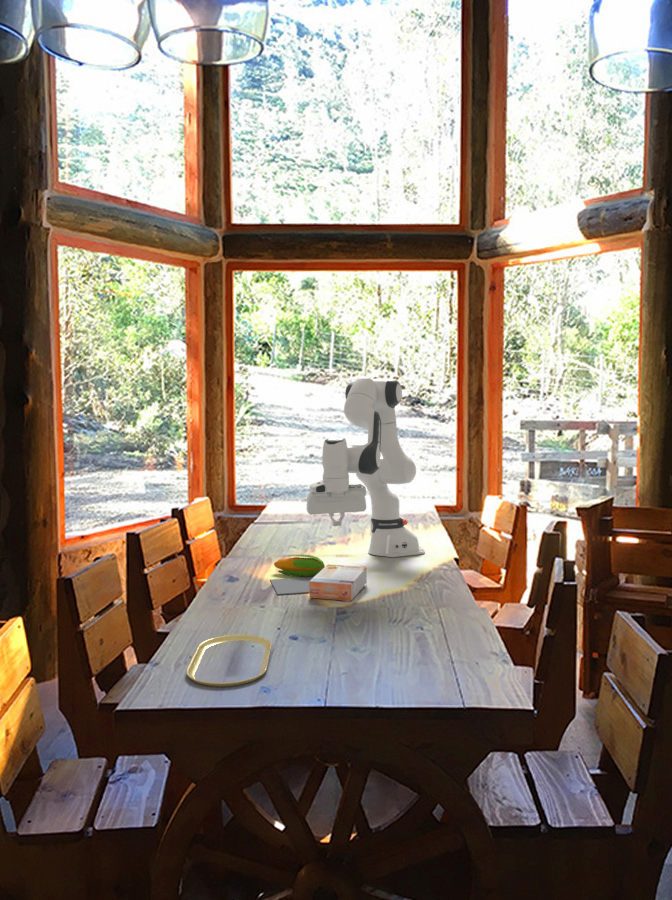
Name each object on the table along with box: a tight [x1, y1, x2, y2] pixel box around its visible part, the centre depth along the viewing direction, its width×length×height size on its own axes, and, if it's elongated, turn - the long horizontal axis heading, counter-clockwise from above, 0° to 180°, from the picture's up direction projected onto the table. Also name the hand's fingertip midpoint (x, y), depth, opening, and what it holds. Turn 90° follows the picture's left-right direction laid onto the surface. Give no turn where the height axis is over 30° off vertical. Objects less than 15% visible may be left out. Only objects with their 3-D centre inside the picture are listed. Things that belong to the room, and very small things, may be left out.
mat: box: [269, 577, 313, 596], centre depth 270 cm, size 22×20×1 cm
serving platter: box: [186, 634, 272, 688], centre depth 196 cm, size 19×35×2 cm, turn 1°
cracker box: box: [309, 564, 368, 602], centre depth 261 cm, size 14×6×21 cm
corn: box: [273, 554, 326, 578], centre depth 285 cm, size 7×8×20 cm
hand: (336, 525), depth 271 cm, fingers closed
